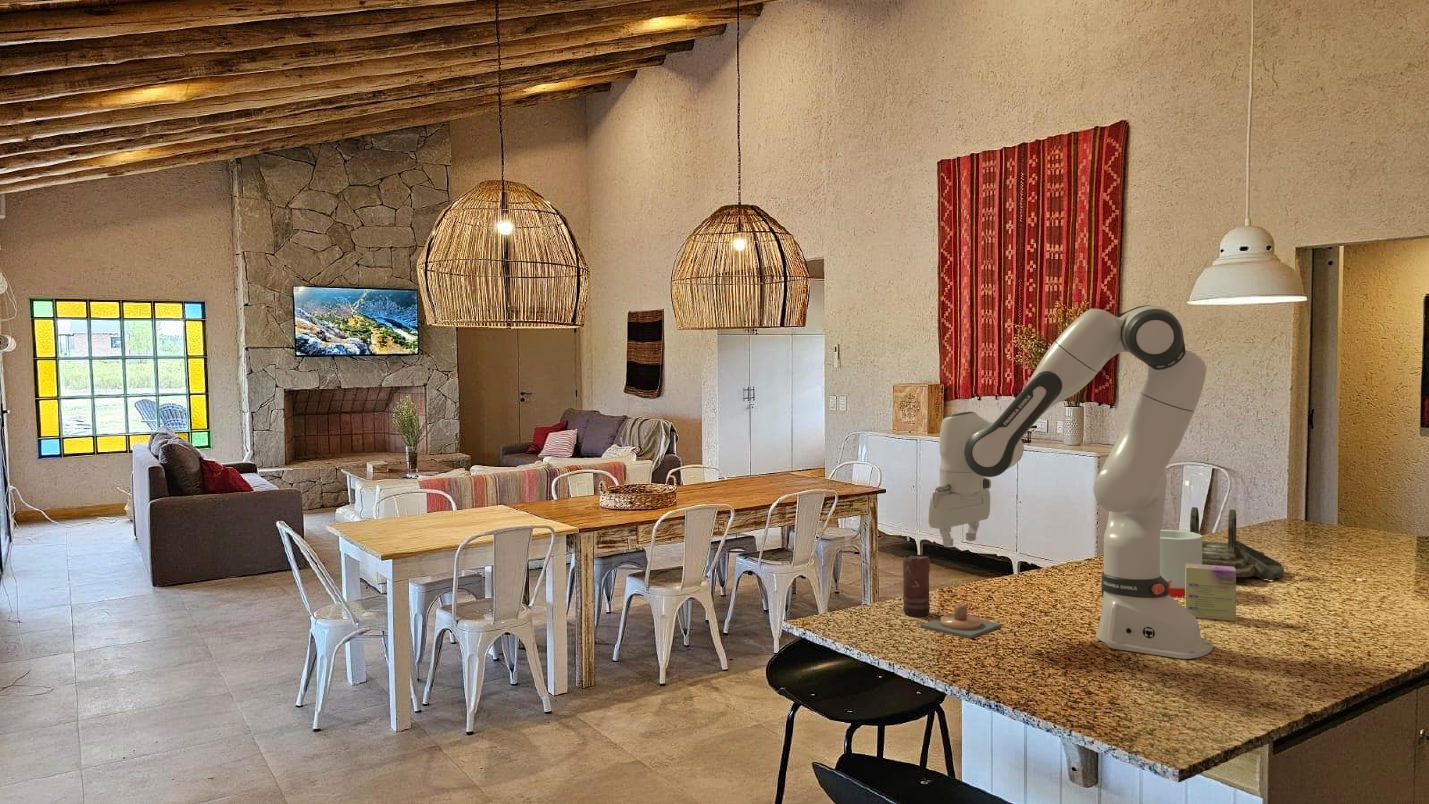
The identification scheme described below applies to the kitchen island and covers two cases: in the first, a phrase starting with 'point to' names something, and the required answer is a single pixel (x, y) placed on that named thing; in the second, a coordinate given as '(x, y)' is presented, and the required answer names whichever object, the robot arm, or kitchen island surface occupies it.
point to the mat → (984, 628)
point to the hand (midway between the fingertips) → (959, 543)
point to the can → (916, 585)
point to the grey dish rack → (1236, 553)
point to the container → (1178, 557)
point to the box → (1210, 591)
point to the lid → (960, 619)
